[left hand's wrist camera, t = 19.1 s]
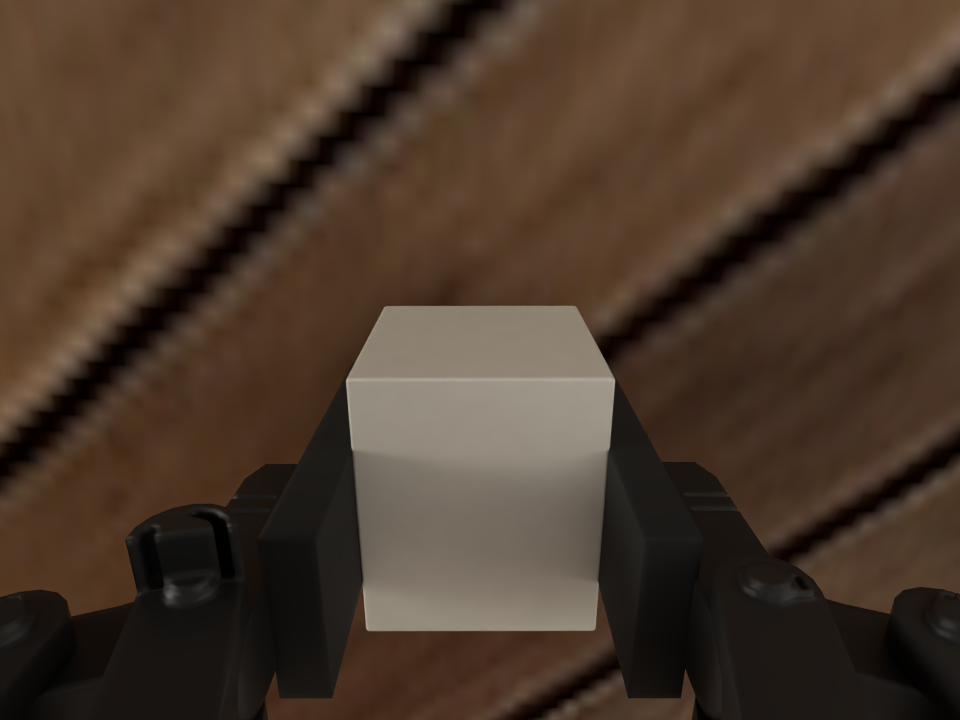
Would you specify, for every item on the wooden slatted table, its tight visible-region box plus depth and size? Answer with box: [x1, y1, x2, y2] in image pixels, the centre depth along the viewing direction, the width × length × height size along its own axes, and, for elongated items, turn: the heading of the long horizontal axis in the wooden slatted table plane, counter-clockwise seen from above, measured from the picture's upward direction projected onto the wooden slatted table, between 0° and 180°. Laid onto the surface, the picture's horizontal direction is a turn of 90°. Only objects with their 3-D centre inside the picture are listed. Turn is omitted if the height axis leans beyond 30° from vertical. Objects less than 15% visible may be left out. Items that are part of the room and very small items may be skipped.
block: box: [346, 306, 615, 631], centre depth 13 cm, size 4×5×4 cm
